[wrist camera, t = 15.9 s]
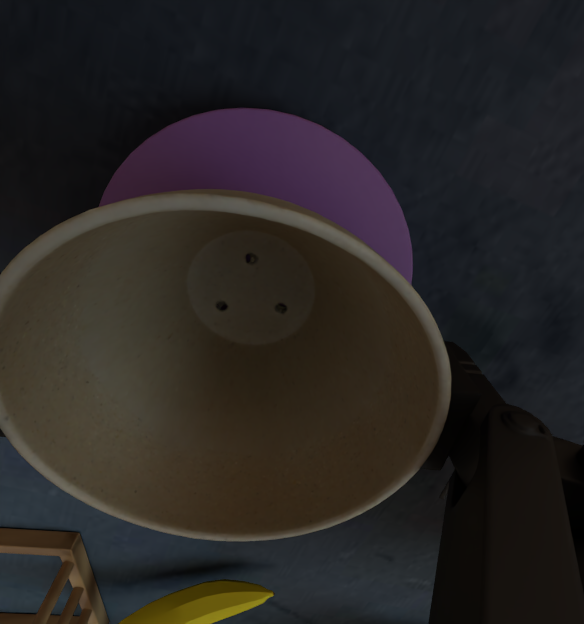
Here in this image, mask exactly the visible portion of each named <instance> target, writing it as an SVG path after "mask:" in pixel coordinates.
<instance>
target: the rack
mask: <svg viewBox="0 0 584 624" xmlns="http://www.w3.org/2000/svg"><path fill="white" fill-rule="evenodd" d="M0 553H15V554H33V555H51V556H60V558H61V561H62V563H63V564H62V566H61V568H60V570H59V572H58V574H57V576H56V578H55V580H54V581H53V583H52V585H51V587H50V589H49V591H48V593H47V595H46V597H45V599H44V601H43V603H42V605H41V607H40V609H39V610H38V612H37V614H15V613H0V624H109V619H108V617H107V614H106V611H105V608H104V605H103V602H102V599H101V596H100V593H99V590H98V587H97V584H96V581H95V578H94V575H93V572H92V569H91V566H90V563H89V560H88V557H87V554H86V551H85V548H84V545H83V542H82V539H81V536H80V533H75V532H59V531H43V530H26V529H10V528H0ZM68 578H69V580H70V582H71V585H72V587H73V590H72V592H71V595H70V597H69V599H68V601H67V603H66V605H65V607H64V610H63V612H62V614H61V616H60V615H50V614H51V612H52V610H53V608H54V606H55V604H56V602H57V600H58V598H59V596H60V594H61V592H62V590H63V588H64V586H65V584H66V582H67V579H68ZM78 602H79V604H80V607H81V609H82V612H81V615H80V616H73V614H74V611H75V609H76V607H77V605H78Z"/></svg>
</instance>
